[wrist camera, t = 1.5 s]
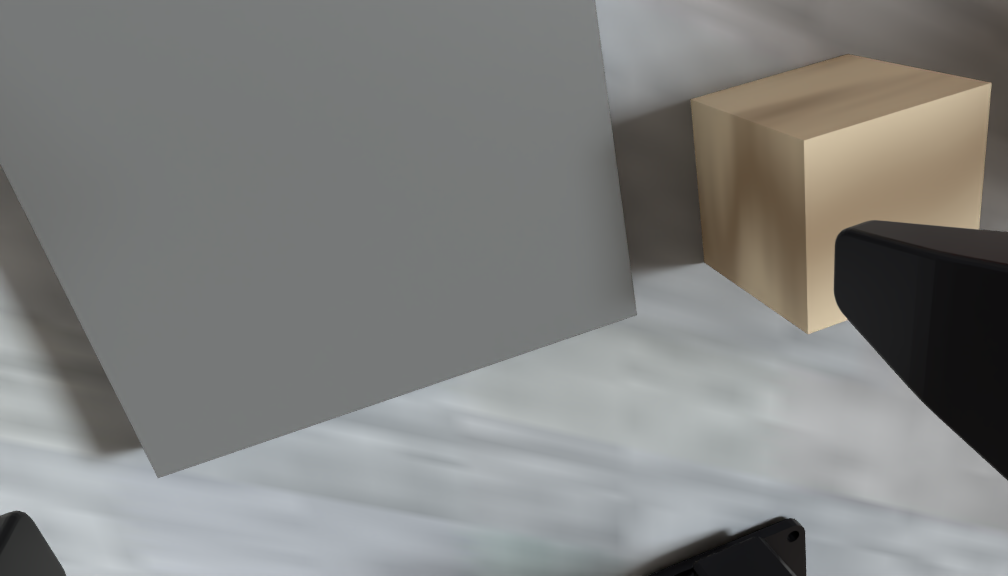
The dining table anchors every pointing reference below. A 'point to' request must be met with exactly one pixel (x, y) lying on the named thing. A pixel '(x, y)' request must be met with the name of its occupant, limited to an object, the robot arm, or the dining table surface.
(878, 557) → the dining table surface
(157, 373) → the gray board
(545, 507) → the dining table surface
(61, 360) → the dining table surface
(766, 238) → the beech block
